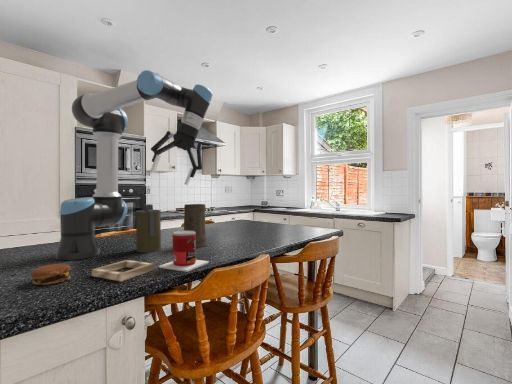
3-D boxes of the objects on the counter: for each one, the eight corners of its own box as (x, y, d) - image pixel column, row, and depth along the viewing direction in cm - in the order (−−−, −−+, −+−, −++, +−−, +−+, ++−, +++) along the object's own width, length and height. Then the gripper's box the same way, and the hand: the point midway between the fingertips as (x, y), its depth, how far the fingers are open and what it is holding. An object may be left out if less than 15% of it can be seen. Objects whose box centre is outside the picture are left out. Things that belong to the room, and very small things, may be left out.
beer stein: (204, 248, 128) (204, 203, 129) (180, 248, 128) (180, 203, 129) (210, 243, 143) (210, 204, 144) (189, 243, 143) (189, 204, 145)
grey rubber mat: (158, 267, 97) (158, 265, 97) (182, 259, 108) (182, 258, 108) (187, 271, 92) (187, 269, 92) (208, 262, 102) (208, 261, 102)
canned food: (190, 266, 95) (190, 234, 95) (168, 265, 97) (168, 233, 96) (199, 261, 103) (199, 230, 102) (179, 260, 104) (178, 230, 104)
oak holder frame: (91, 275, 88) (91, 269, 88) (126, 265, 100) (126, 259, 100) (120, 281, 82) (120, 274, 82) (154, 269, 94) (154, 263, 94)
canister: (133, 249, 127) (133, 204, 126) (157, 246, 133) (156, 203, 133) (139, 253, 118) (139, 205, 118) (164, 250, 124) (164, 204, 124)
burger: (33, 279, 85) (33, 264, 85) (70, 274, 90) (70, 260, 90) (29, 289, 77) (29, 272, 77) (70, 283, 82) (70, 267, 82)
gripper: (155, 111, 104) (134, 164, 104) (219, 136, 104) (198, 189, 104) (162, 116, 111) (142, 166, 111) (221, 139, 112) (201, 190, 111)
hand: (169, 178), depth 108 cm, fingers open, 13 cm apart
